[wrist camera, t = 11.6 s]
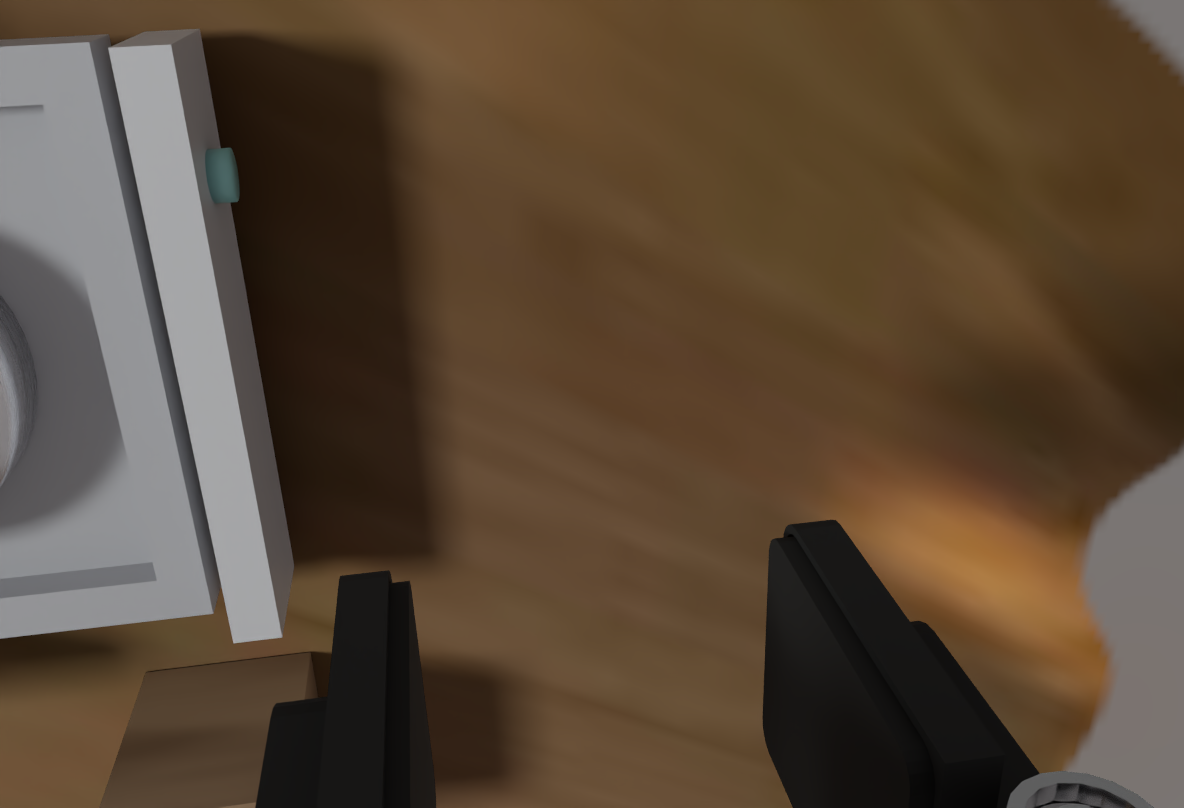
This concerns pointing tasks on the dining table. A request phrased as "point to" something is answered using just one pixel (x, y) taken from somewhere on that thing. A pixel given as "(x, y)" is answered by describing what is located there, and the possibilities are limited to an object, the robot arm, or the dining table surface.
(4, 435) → the silver disc
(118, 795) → the walnut block
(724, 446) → the dining table surface
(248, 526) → the tray
